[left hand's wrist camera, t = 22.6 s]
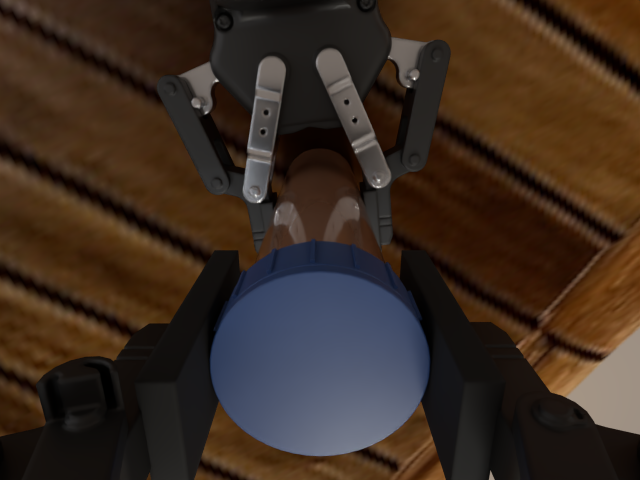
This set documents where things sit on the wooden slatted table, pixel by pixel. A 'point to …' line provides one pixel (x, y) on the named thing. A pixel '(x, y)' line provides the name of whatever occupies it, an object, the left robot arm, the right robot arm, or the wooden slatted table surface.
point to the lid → (319, 350)
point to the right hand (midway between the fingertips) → (326, 255)
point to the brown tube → (320, 206)
